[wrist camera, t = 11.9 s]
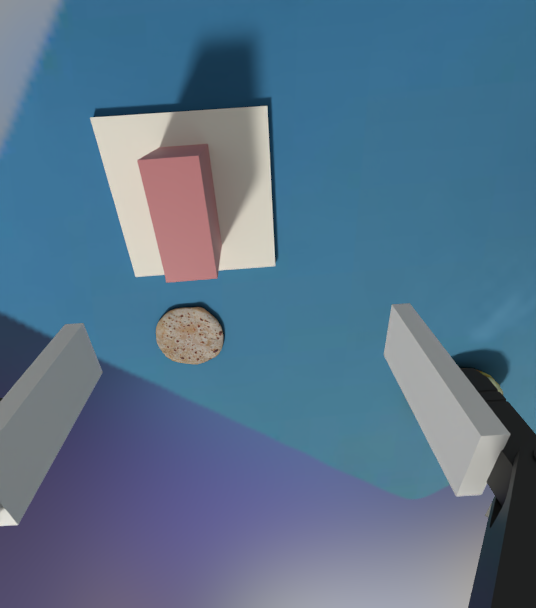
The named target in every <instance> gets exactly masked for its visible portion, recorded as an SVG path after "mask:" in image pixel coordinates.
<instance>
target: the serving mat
mask: <svg viewBox="0 0 536 608" xmlns="http://www.w3.org/2000/svg"><path fill="white" fill-rule="evenodd" d="M90 119H91V123H92V126H93V130H94V133H95V137H96V140H97V144H98V147H99V150H100V154H101V157H102V161H103V164H104V168H105V171H106V175H107V178H108V182H109V185H110V189H111V192H112V196H113V199H114V203H115V206H116V210H117V213H118V217H119V220H120V224H121V227H122V231H123V234H124V238H125V241H126V245H127V248H128V252H129V255H130V259H131V262H132V266H133V269H134V273H135V276H136V277H141V276H154V275H165V274H164V270H163V266H162V261H161V257H160V253H159V249H158V245H157V241H156V236H155V232H154V228H153V224H152V220H151V216H150V212H149V207H148V203H147V199H146V195H145V191H144V187H143V182H142V178H141V174H140V170H139V166H138V162H137V160H138V159H140V158H142V157H143V156H145V155H147V154H149V153H150V152H152V151H154V150H156V149H157V148H159V147H169V146H183V145H197V144H208V148H209V155H210V162H211V170H212V177H213V184H214V192H215V199H216V206H217V213H218V221H219V228H220V235H221V243H222V249H221V256H220V263H219V270H231V269H244V268H257V267H269V266H275V250H274V230H273V209H272V189H271V169H270V148H269V128H268V108H267V106H256V107H241V108H226V109H211V110H196V111H180V112H165V113H150V114H135V115H120V116H105V117H91V118H90Z"/></svg>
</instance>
